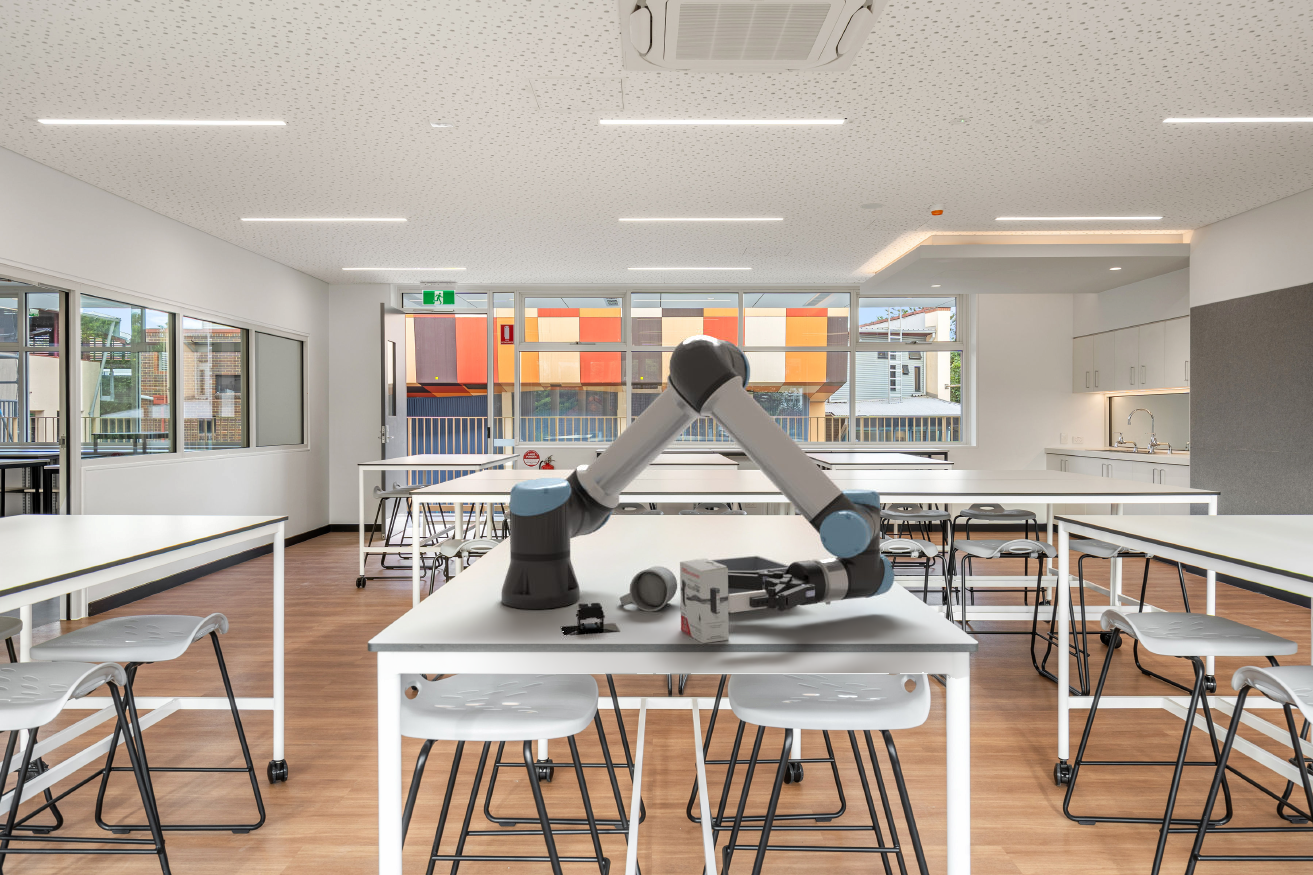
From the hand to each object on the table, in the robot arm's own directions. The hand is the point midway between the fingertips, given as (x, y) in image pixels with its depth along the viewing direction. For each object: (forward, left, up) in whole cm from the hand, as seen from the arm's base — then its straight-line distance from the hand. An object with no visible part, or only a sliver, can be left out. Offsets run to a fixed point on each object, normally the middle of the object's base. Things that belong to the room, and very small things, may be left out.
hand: (708, 593), depth 118 cm
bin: (-17, +16, -7) cm, 25 cm away
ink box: (0, -1, -7) cm, 7 cm away
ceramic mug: (-21, -1, -7) cm, 22 cm away
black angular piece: (-12, -16, -8) cm, 21 cm away
